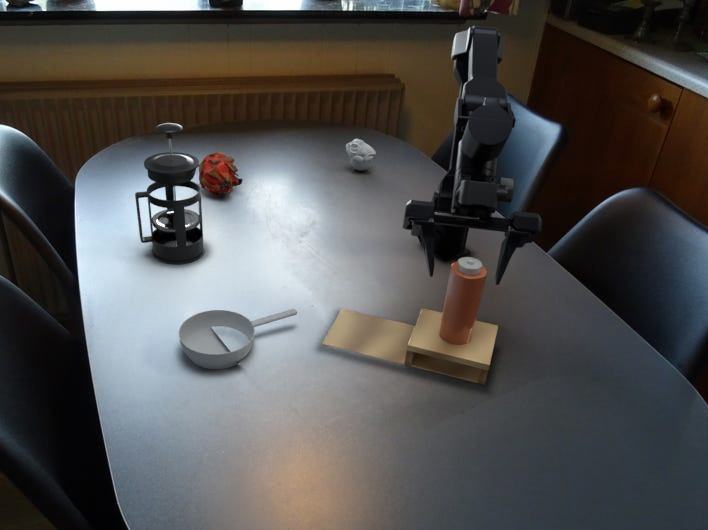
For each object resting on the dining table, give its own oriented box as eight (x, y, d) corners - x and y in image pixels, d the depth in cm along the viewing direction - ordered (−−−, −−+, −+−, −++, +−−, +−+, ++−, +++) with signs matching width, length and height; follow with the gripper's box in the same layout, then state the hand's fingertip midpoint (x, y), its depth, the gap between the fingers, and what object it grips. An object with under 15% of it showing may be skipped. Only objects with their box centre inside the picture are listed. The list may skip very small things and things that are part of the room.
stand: (321, 348, 100) (323, 324, 98) (341, 313, 108) (343, 289, 105) (483, 389, 94) (489, 364, 92) (492, 349, 102) (498, 325, 100)
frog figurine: (345, 162, 159) (347, 134, 155) (375, 166, 159) (378, 137, 155) (342, 172, 154) (345, 143, 150) (373, 176, 154) (376, 146, 150)
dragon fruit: (214, 184, 149) (229, 215, 141) (183, 167, 143) (196, 198, 136) (237, 154, 146) (253, 184, 138) (206, 136, 140) (221, 165, 133)
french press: (202, 235, 126) (196, 114, 113) (213, 260, 119) (208, 133, 106) (138, 243, 123) (124, 118, 110) (145, 269, 116) (131, 139, 102)
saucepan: (170, 338, 100) (168, 317, 98) (281, 312, 107) (281, 291, 105) (194, 382, 92) (192, 360, 90) (311, 350, 100) (312, 329, 98)
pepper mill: (447, 321, 100) (462, 247, 93) (477, 333, 98) (495, 258, 90) (432, 336, 97) (446, 260, 89) (462, 349, 94) (479, 272, 87)
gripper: (414, 144, 90) (401, 257, 87) (557, 159, 88) (547, 274, 86) (408, 176, 101) (396, 277, 98) (535, 189, 99) (526, 293, 97)
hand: (464, 280), depth 94 cm, fingers open, 9 cm apart
